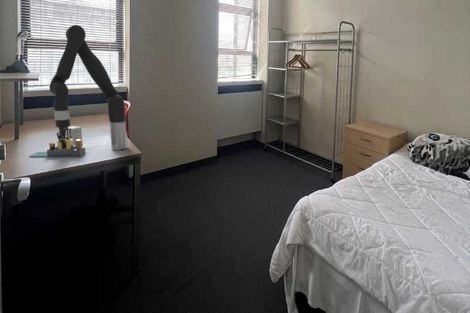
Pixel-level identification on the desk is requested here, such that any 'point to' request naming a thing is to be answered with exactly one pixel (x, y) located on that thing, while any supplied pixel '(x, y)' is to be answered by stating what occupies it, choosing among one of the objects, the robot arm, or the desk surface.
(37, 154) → the mat
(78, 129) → the supplement box
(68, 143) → the tan rectangular block
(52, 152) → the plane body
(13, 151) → the desk surface
